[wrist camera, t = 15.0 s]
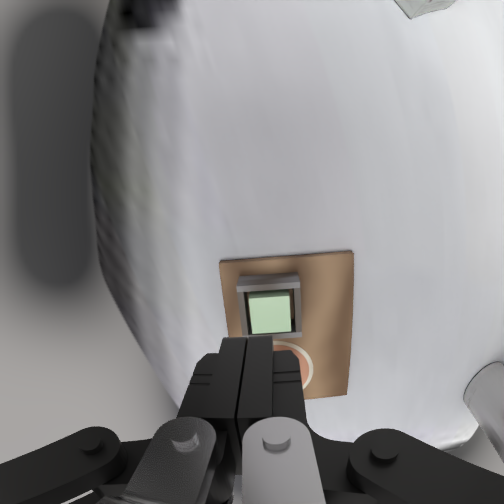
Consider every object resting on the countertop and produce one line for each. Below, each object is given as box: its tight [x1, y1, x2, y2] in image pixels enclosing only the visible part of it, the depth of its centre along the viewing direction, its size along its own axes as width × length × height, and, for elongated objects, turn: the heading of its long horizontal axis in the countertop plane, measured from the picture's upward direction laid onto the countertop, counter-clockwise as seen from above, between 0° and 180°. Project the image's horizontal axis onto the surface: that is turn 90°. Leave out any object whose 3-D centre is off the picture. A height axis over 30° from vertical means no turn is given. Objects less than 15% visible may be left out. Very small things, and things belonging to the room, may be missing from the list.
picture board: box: [219, 251, 354, 400], centre depth 32 cm, size 14×19×4 cm
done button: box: [249, 289, 291, 334], centre depth 30 cm, size 4×4×2 cm
